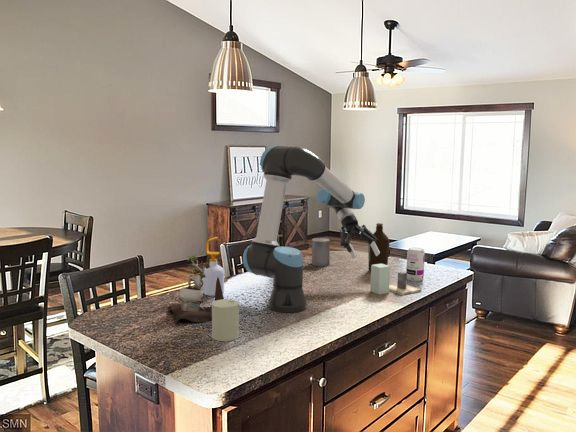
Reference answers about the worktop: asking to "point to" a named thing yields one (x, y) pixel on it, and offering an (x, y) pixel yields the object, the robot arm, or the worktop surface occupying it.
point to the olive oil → (382, 246)
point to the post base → (403, 291)
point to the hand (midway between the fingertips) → (366, 255)
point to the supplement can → (415, 264)
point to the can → (225, 320)
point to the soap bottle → (212, 273)
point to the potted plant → (195, 297)
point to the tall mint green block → (380, 278)
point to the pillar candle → (320, 251)
